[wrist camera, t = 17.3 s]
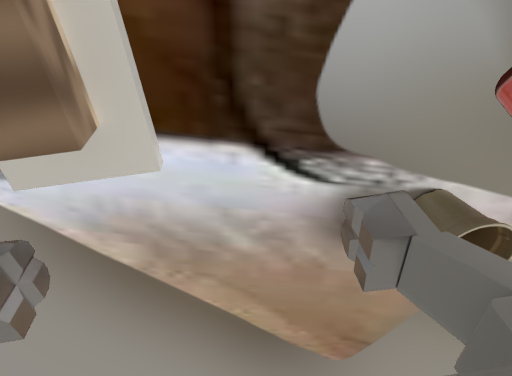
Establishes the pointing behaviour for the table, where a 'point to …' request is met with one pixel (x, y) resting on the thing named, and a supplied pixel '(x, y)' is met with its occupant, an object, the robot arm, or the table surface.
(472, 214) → the flower pot
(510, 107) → the plant saucer
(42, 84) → the block
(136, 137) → the marked board
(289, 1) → the table surface
